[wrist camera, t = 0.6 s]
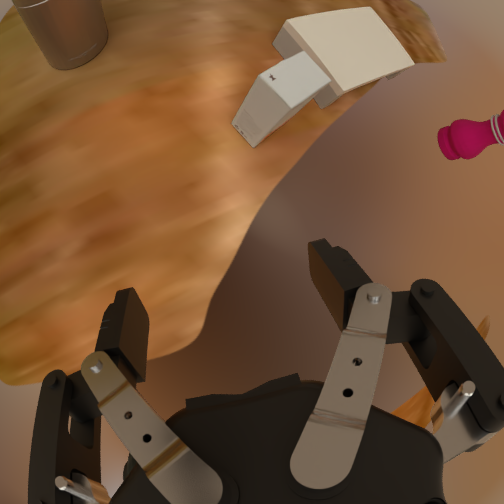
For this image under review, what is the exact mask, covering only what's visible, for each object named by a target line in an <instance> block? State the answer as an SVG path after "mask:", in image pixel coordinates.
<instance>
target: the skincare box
mask: <svg viewBox="0 0 504 504" xmlns="http://www.w3.org/2000/svg"><path fill="white" fill-rule="evenodd" d="M331 81H332V80H331V79H330V78H329V77H328V76H327V75H326V74H325V73H324V71H323V70H322V69H321V68H320V67H319V66H318V65H317V64H316V63H315V62H314V61H313V60H312V59H311V58H310V57H309V55H308V54H307V53H306V52H305V51H301V52H299V53H297V54H295V55H293V56H291V57H290V58H287V59H285V60H283V61H281V62H279V63H278V64H276V65H275V66H273V67H271V68H269V69H268V70H266V71H265V72H263V73H261V74H260V75H258V77H257V79H256V80H255V82H254V83H253V85H252V87H251V89H250V91H249V92H248V94H247V96H246V97H245V99H244V101H243V103H242V105H241V106H240V108H239V110H238V112H237V113H236V115H235V117H234V119H233V121H232V122H231V124H232V125H233V126H234V127H235V128H236V130H237V131H238V132H239V133H240V134H241V135H242V136H243V137H244V138H245V139H246V141H247V142H248V143H249V144H250V145H251V146H252V147H253V148H254V147H256V146H257V145H258V144H259V143H260V142H262V141H263V140H264V139H265V138H267V137H268V136H269V135H270V134H272V133H273V132H274V131H276V130H277V129H278V128H280V127H281V126H283V125H284V124H285V123H287V122H288V121H289V120H290V119H291V118H292V117H293V116H294V115H295V114H296V113H297V112H298V111H299V110H300V109H302V108H303V107H304V106H305V105H306V104H307V103H308V102H309V101H310V100H311V99H312V98H314V97H315V96H316V95H317V94H318V93H319V92H320V91H321V90H322V89H324V88H325V87H326V86H327V85H328V84H329V83H330V82H331Z"/></svg>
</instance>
